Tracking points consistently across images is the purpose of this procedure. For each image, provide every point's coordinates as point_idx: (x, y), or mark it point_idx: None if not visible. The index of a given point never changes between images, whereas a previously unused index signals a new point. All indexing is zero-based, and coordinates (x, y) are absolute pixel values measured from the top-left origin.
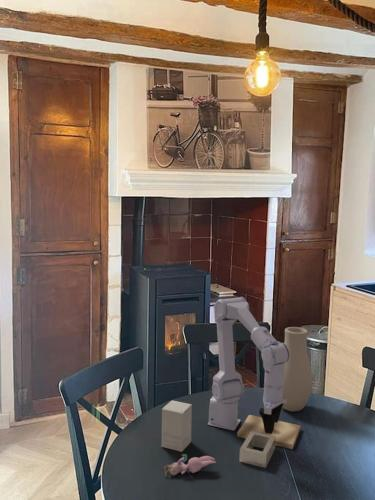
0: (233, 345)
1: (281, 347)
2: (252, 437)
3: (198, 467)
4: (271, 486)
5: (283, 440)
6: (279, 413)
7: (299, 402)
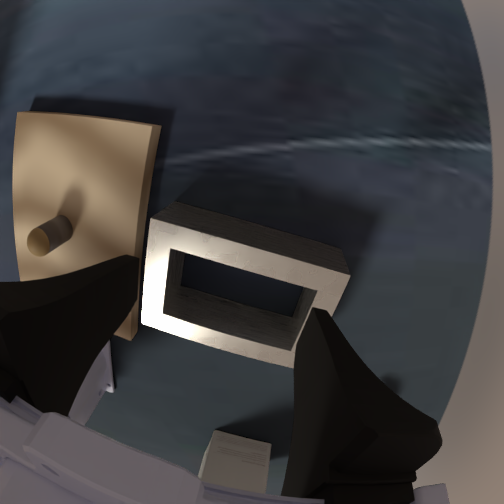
0: None
1: None
2: (190, 322)
3: None
4: (452, 235)
5: (126, 169)
6: (94, 282)
7: None
